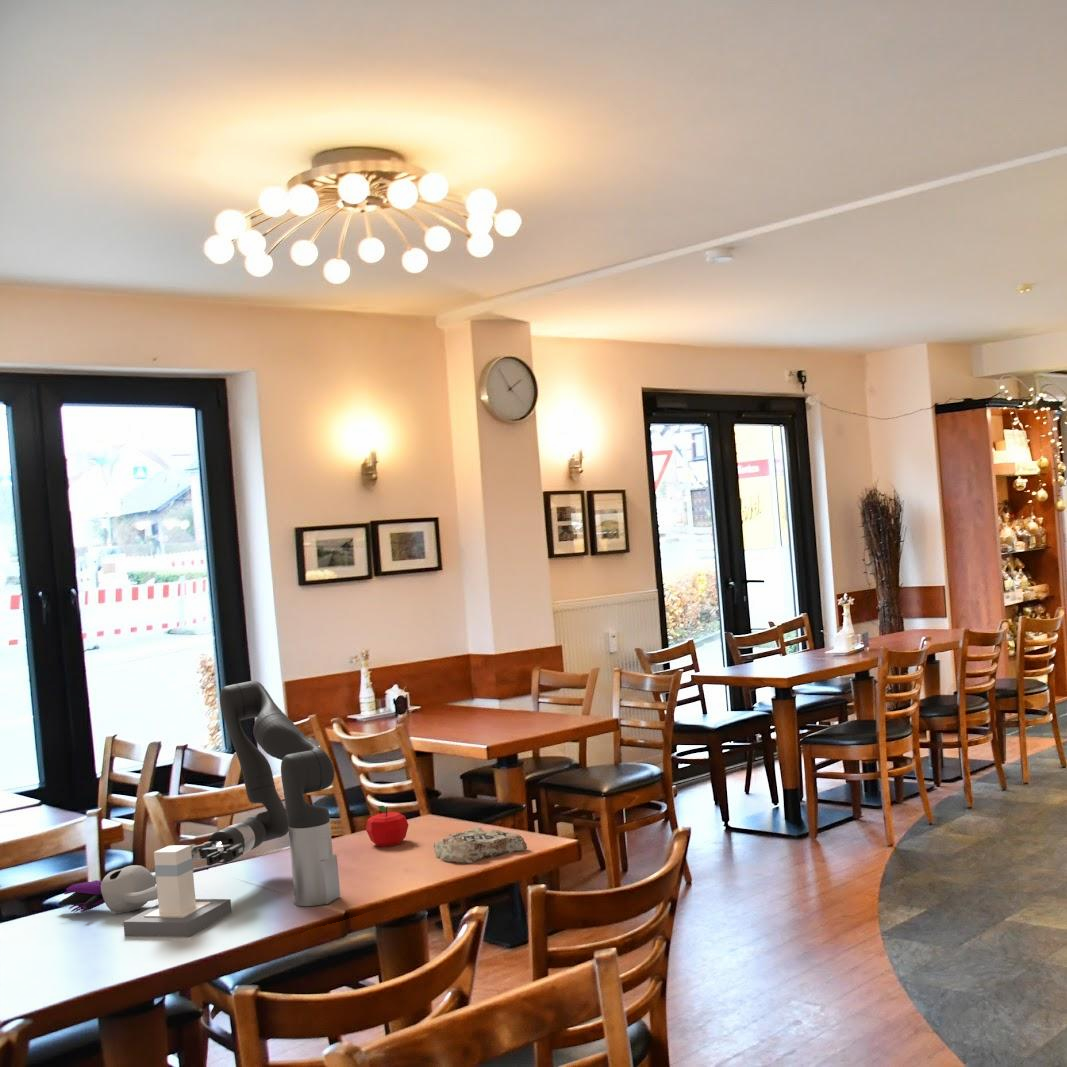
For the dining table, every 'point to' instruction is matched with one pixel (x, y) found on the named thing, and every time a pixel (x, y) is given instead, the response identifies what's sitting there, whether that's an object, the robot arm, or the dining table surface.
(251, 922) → the dining table surface
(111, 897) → the figurine
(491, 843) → the stone
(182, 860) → the carton
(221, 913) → the podium
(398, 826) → the apple
